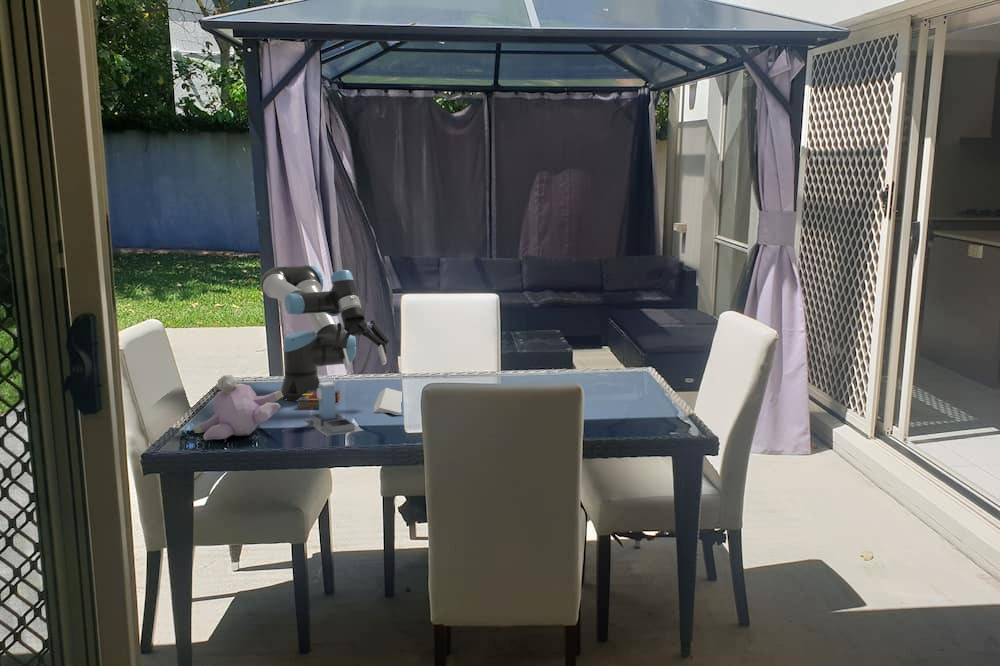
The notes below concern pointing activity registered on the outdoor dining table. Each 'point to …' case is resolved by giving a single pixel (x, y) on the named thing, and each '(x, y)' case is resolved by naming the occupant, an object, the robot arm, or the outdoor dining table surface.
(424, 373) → the outdoor dining table surface
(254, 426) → the toy
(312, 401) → the decorative book
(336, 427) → the panel
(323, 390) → the plug
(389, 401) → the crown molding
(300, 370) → the robot arm
